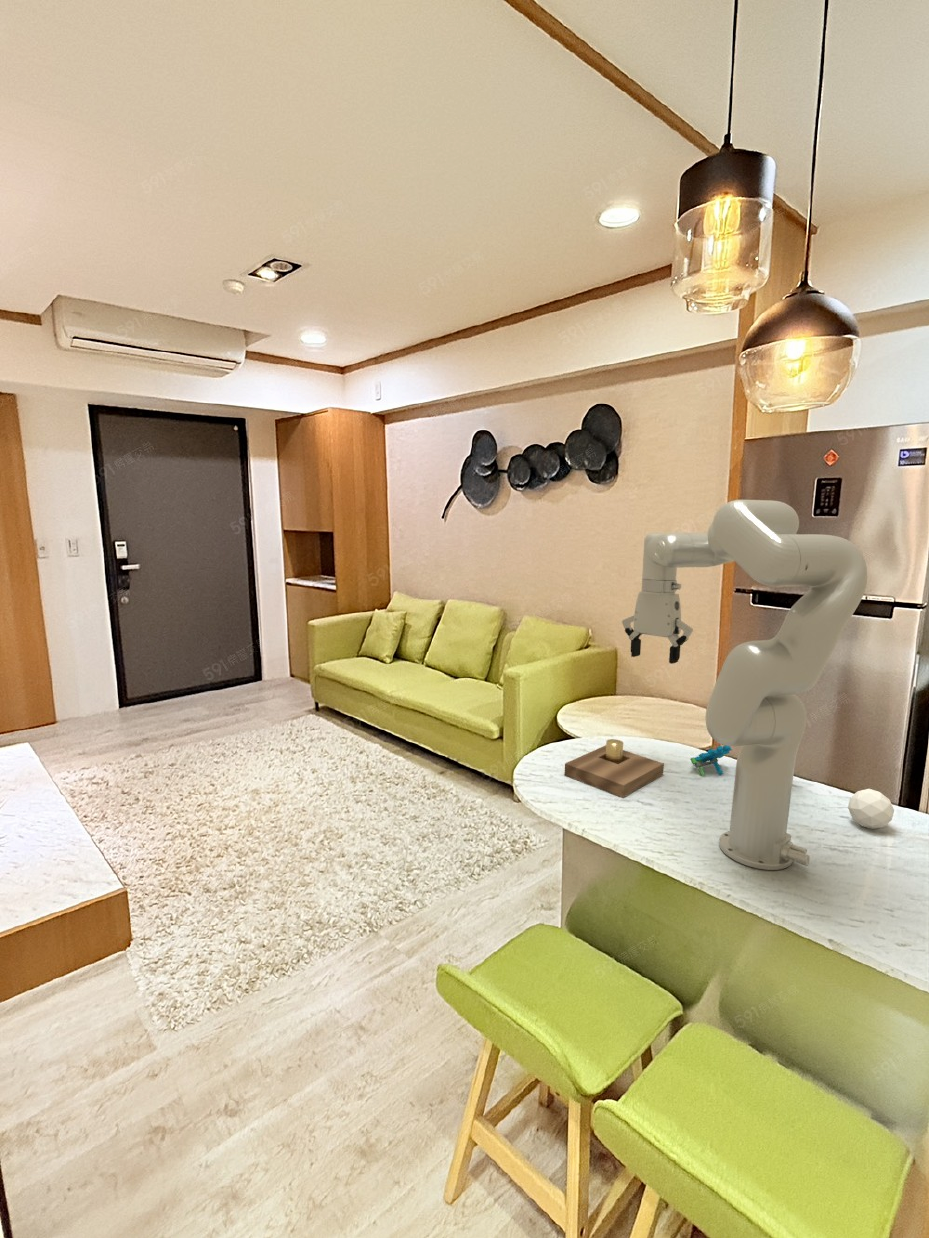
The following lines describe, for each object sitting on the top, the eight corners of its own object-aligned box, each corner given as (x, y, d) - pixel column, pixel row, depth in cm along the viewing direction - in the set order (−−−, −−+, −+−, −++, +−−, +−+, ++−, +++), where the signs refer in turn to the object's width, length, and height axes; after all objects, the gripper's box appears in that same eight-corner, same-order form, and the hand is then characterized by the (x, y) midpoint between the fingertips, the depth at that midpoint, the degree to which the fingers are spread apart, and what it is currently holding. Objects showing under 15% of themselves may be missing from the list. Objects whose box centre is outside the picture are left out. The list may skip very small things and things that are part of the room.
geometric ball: (877, 842, 127) (896, 825, 121) (836, 819, 131) (853, 802, 125) (886, 814, 131) (906, 797, 125) (847, 793, 135) (864, 775, 129)
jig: (663, 775, 151) (663, 763, 151) (622, 797, 139) (623, 785, 138) (606, 755, 162) (606, 744, 162) (564, 775, 150) (564, 763, 149)
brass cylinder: (624, 769, 154) (626, 742, 153) (615, 774, 151) (617, 746, 150) (610, 764, 157) (612, 738, 156) (601, 768, 154) (603, 741, 153)
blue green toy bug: (717, 754, 160) (736, 739, 152) (728, 776, 157) (748, 761, 149) (680, 764, 157) (696, 749, 149) (691, 787, 154) (708, 772, 146)
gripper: (701, 589, 141) (696, 663, 144) (633, 583, 153) (629, 651, 156) (687, 591, 136) (681, 668, 139) (616, 585, 148) (613, 655, 151)
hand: (654, 659), depth 147 cm, fingers open, 9 cm apart
